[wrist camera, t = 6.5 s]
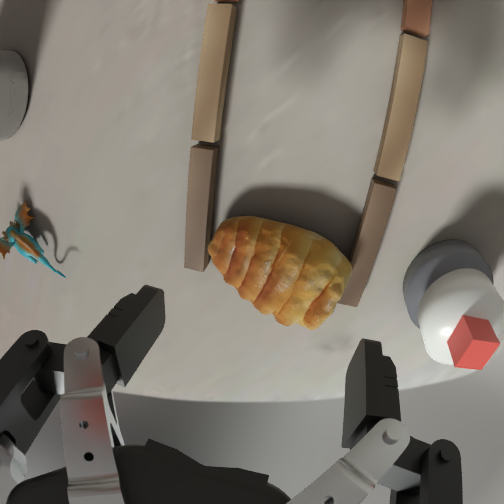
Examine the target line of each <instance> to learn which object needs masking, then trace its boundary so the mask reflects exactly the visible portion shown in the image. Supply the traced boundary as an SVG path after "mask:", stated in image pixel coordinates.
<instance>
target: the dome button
mask: <svg viewBox="0 0 504 504" xmlns="http://www.w3.org/2000/svg"><path fill="white" fill-rule="evenodd" d="M417 318H418V323H419V326H420V330H421V333H422V337H423V341H424V344H425V348H426V351H427V353H428V355H429V356H430V357H431V358H432V359H434V360H435V361H437V362H439V363H442V364H450V365H451V364H454V366H455V367H459V368H468V369H477V370H482V368H483V367H484V366H485V364H486V363H487V361H488V360H489V359H490V357H491V356H492V354H493V353H494V352H495V350H496V349H497V347H498V346H499V344H500V342H499V340H498V338H499V337H500V335H501V334H502V332H503V330H504V301H503V299H502V298H501V296H500V295H499V293H498V291H497V290H496V288H495V287H494V285H493V284H492V282H491V281H490V279H489V278H488V277H487V276H486V275H485V274H484V273H483V272H481V271H479V270H476V269H472V268H463V269H457V270H454V271H451V272H449V273H447V274H445V275H443V276H441V277H440V278H438V279H437V280H436V281H435V282H434V283H432V284H431V285H430V287H429V288H428V289H427V290H426V292H425V293H424V294H423V296H422V298H421V300H420V303H419V306H418V311H417Z"/></svg>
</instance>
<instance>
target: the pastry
mask: <svg viewBox="0 0 504 504" xmlns="http://www.w3.org/2000/svg"><path fill="white" fill-rule="evenodd" d="M208 252H209V255H210V256H211V258H212V262H213V264H214V265H215V266H216V267H217V269H218V270H219V271H220V272H221V274H222V275H223V277H224V280H225V282H226V283H228V284H230V285H232V286H234V287H235V288H236V289H237V290H238V293H239V294H240V297H241V298H243V299H245V300H249V301H251V302H252V303H253V305H254V307H255V308H256V309H258V310H259V311H260V312H261V313H262V314H273V315H274V316H275V319H276V320H277V321H278V322H279V323H280V324H283V325H285V326H289V325H292V324H299V325H301V326H303V327H307V328H308V329H309V330H314V329H317V328H318V327H319V326H320V325H321V324H322V323H323V322H324V321H325V320H326V319H327V318H328V317H329V316H330V315H331V314H332V312H333V311H334V309H335V306H336V304H337V302H338V301H339V300H340V299H341V297H342V294H343V292H344V290H345V288H346V286H347V284H348V282H349V279H350V276H351V274H352V266H351V264H350V262H349V261H348V259H347V258H346V257H345V256H344V255H343V254H342V253H341V251H340V250H339V249H338V248H337V247H336V246H335V245H334V244H333V243H332V242H331V241H329V240H328V239H326V238H324V237H322V236H320V235H319V234H317V233H316V232H313V231H309V230H305V229H303V228H301V227H296V226H293V225H291V224H287V223H282V222H277V221H274V220H270V219H266V218H260V217H255V216H240V217H232V218H229V219H227V220H225V221H223V222H222V223H221V224H220V226H219V227H218V229H217V230H216V232H215V234H214V237H213V238H212V240H211V242H210V243H209V246H208Z"/></svg>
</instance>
